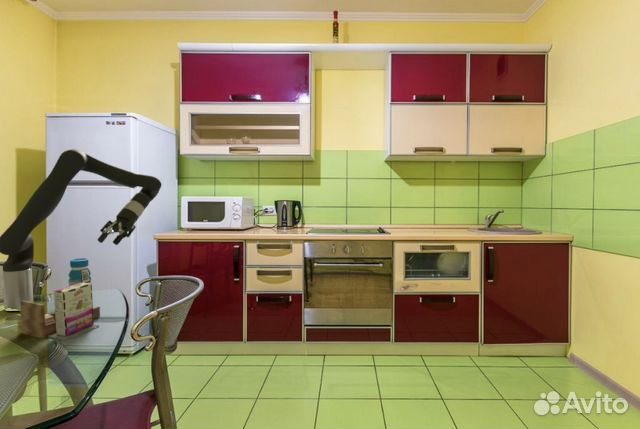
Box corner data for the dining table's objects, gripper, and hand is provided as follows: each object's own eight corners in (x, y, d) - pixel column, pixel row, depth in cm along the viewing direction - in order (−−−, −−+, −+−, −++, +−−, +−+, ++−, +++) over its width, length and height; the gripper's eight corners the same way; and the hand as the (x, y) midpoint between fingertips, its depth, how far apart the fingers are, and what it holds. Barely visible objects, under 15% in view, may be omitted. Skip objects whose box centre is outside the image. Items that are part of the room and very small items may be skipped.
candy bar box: (83, 323, 133) (82, 281, 131) (94, 324, 131) (92, 283, 130) (54, 335, 122) (53, 290, 120) (65, 337, 121) (64, 291, 119)
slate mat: (48, 337, 121) (48, 335, 121) (83, 323, 134) (83, 322, 134) (64, 341, 119) (64, 339, 119) (99, 326, 131) (98, 325, 131)
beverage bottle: (68, 307, 150) (66, 262, 148) (70, 301, 157) (69, 258, 155) (91, 304, 154) (89, 260, 152) (92, 298, 161) (91, 256, 160)
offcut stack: (31, 333, 124) (31, 318, 124) (46, 327, 129) (46, 313, 128) (41, 335, 122) (41, 321, 122) (56, 330, 127) (56, 316, 127)
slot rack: (21, 333, 124) (20, 301, 123) (81, 312, 144) (80, 284, 143) (42, 338, 120) (41, 305, 119) (100, 316, 141) (100, 288, 140)
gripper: (113, 206, 150) (88, 235, 140) (138, 208, 145) (114, 238, 135) (123, 217, 155) (100, 246, 145) (148, 219, 151) (125, 249, 141)
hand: (107, 242), depth 140 cm, fingers open, 8 cm apart
